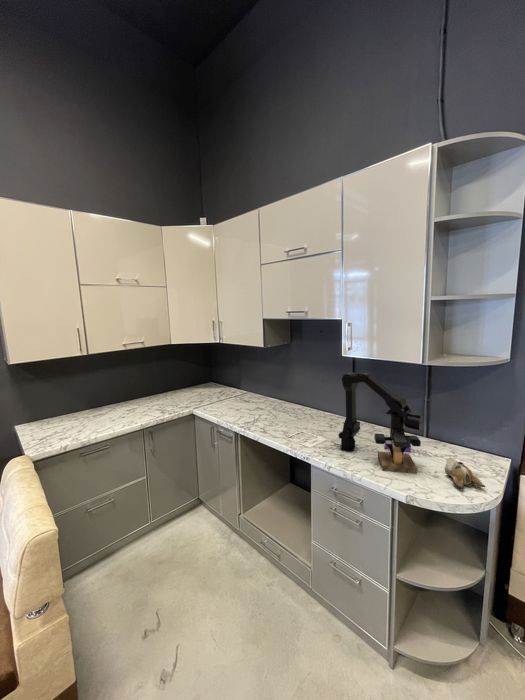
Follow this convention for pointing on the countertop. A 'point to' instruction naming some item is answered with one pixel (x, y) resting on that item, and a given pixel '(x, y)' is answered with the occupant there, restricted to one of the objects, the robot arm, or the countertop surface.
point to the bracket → (399, 447)
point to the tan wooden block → (397, 455)
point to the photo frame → (310, 443)
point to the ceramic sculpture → (461, 474)
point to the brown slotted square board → (389, 465)
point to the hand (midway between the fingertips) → (396, 457)
